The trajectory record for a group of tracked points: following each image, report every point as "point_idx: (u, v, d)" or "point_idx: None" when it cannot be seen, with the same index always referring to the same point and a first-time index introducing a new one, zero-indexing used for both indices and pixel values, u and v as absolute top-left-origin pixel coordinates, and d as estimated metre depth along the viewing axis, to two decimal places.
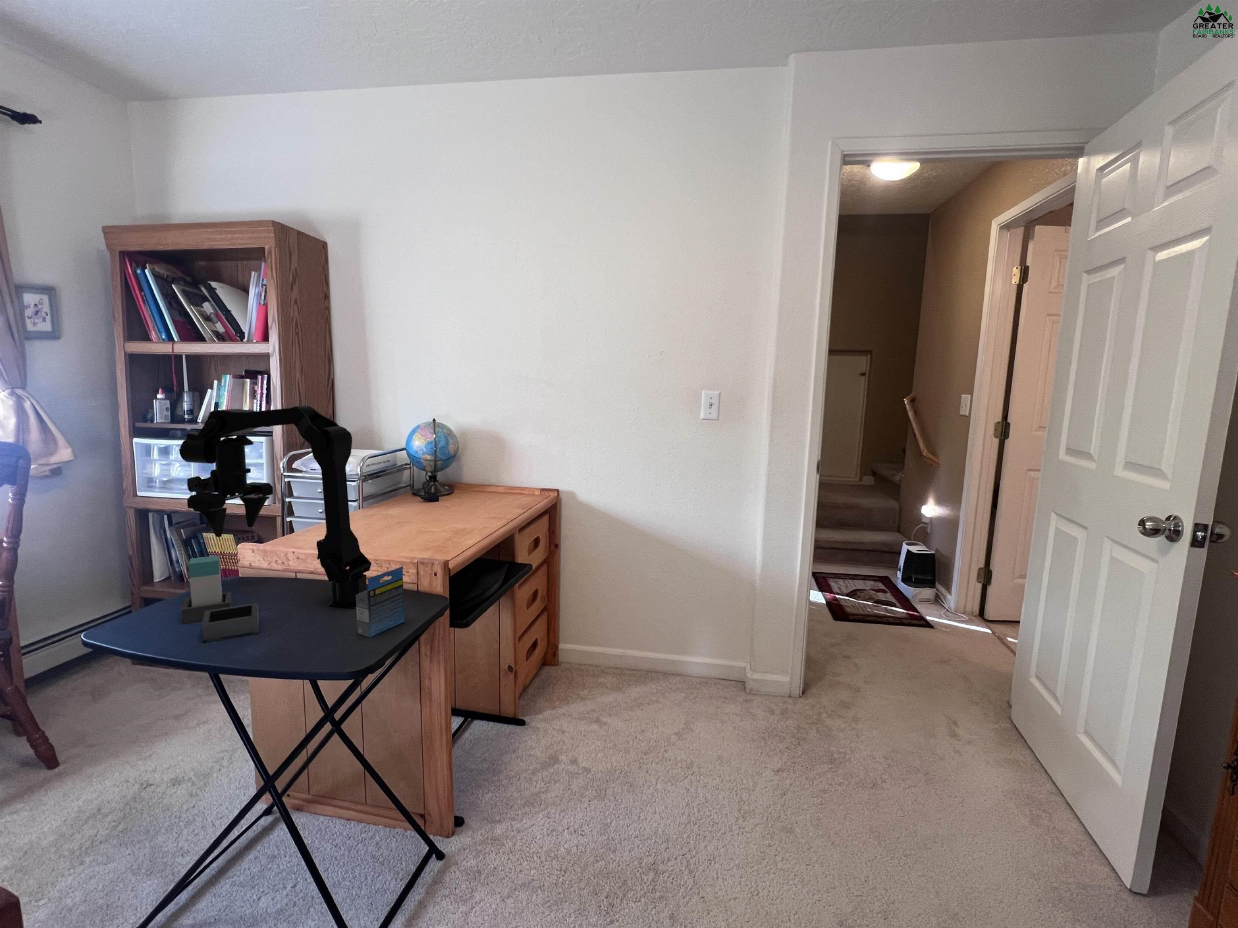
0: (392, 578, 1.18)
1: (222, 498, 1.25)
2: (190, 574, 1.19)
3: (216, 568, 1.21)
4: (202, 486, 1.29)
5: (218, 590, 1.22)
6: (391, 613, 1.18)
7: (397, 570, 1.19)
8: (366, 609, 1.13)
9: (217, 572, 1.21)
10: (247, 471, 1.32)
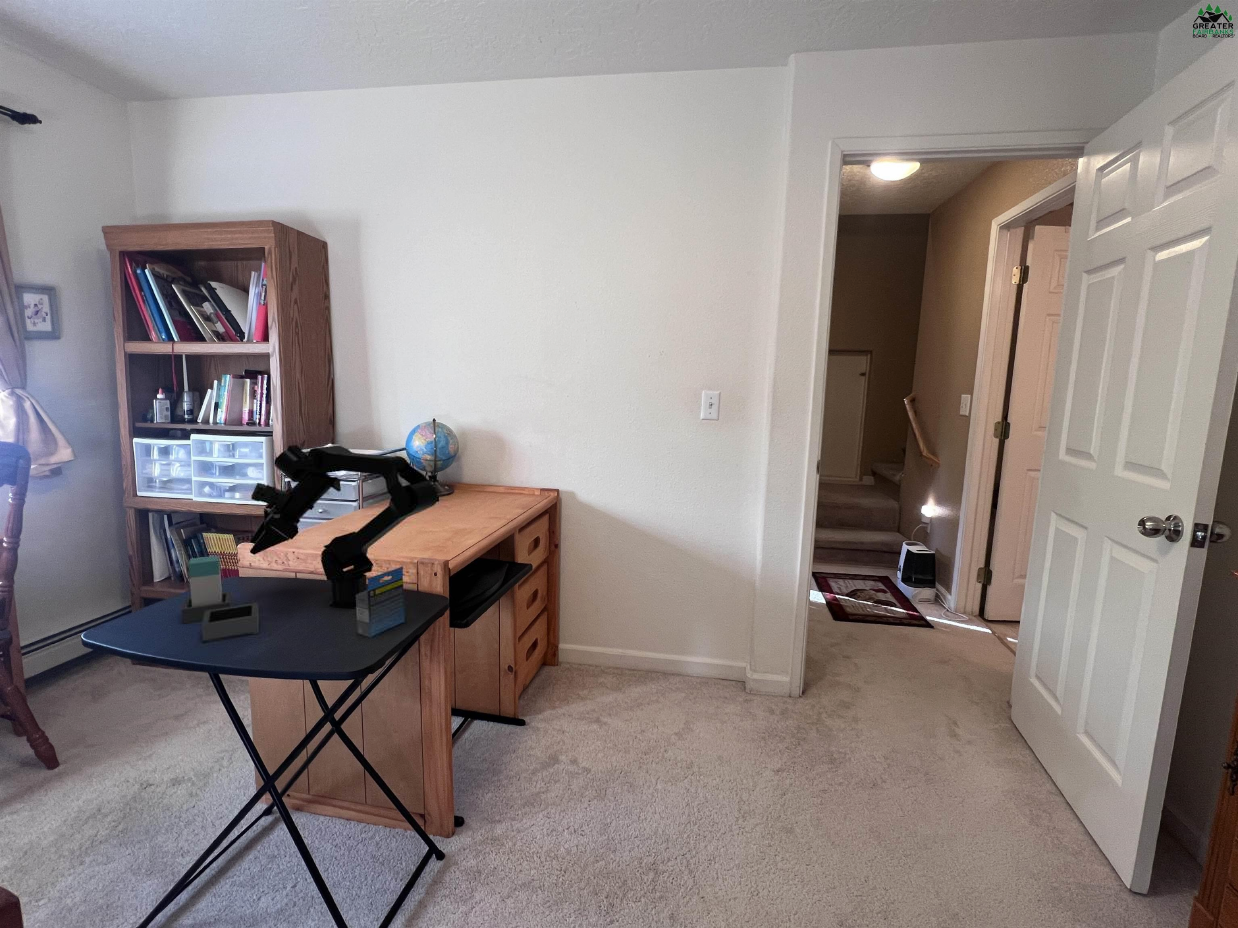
0: (392, 578, 1.18)
1: None
2: (190, 574, 1.19)
3: (216, 568, 1.21)
4: (273, 499, 1.23)
5: (218, 590, 1.22)
6: (391, 613, 1.18)
7: (397, 570, 1.19)
8: (366, 609, 1.13)
9: (217, 572, 1.21)
10: None
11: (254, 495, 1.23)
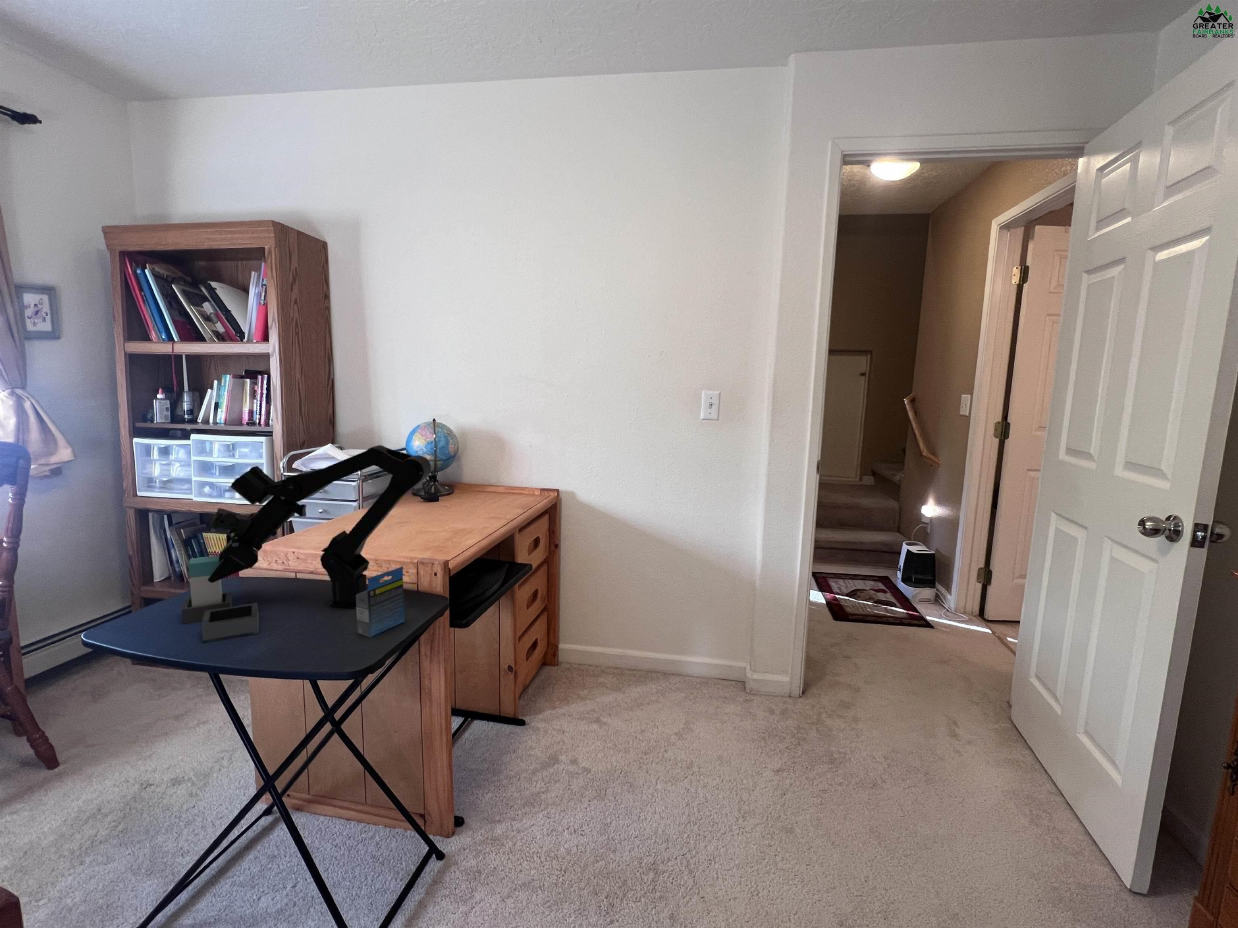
0: (392, 578, 1.18)
1: None
2: (190, 574, 1.19)
3: None
4: (234, 526, 1.20)
5: (218, 590, 1.22)
6: (391, 613, 1.18)
7: (397, 570, 1.19)
8: (366, 609, 1.13)
9: None
10: None
11: (214, 521, 1.20)
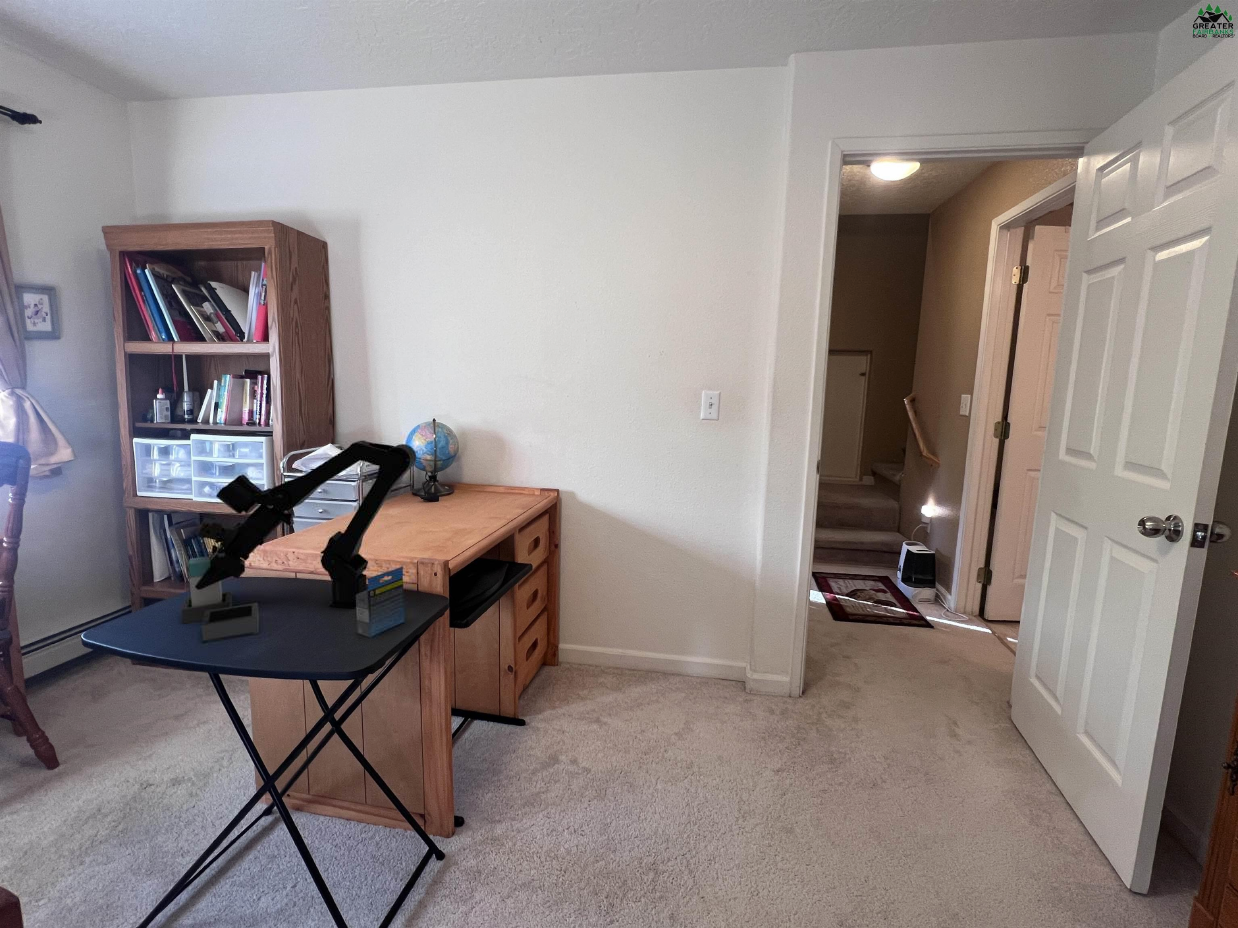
0: (392, 578, 1.18)
1: None
2: (190, 574, 1.19)
3: None
4: (220, 536, 1.19)
5: (218, 590, 1.22)
6: (391, 613, 1.18)
7: (397, 570, 1.19)
8: (366, 609, 1.13)
9: None
10: None
11: (199, 532, 1.18)
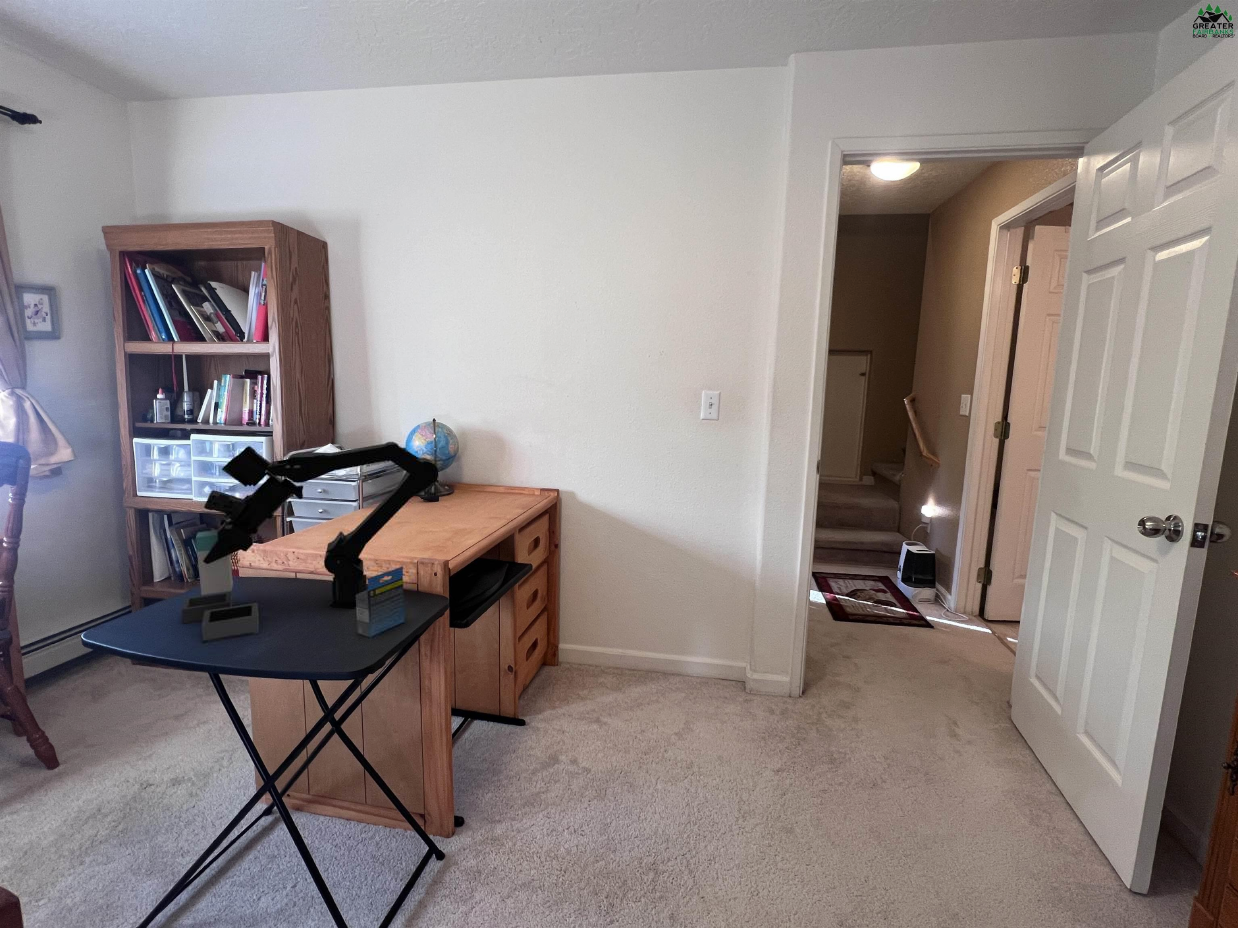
0: (392, 578, 1.18)
1: (253, 540, 1.16)
2: (197, 548, 1.15)
3: None
4: (228, 508, 1.15)
5: (227, 565, 1.18)
6: (391, 613, 1.18)
7: (397, 570, 1.19)
8: (366, 609, 1.13)
9: None
10: None
11: (207, 504, 1.15)
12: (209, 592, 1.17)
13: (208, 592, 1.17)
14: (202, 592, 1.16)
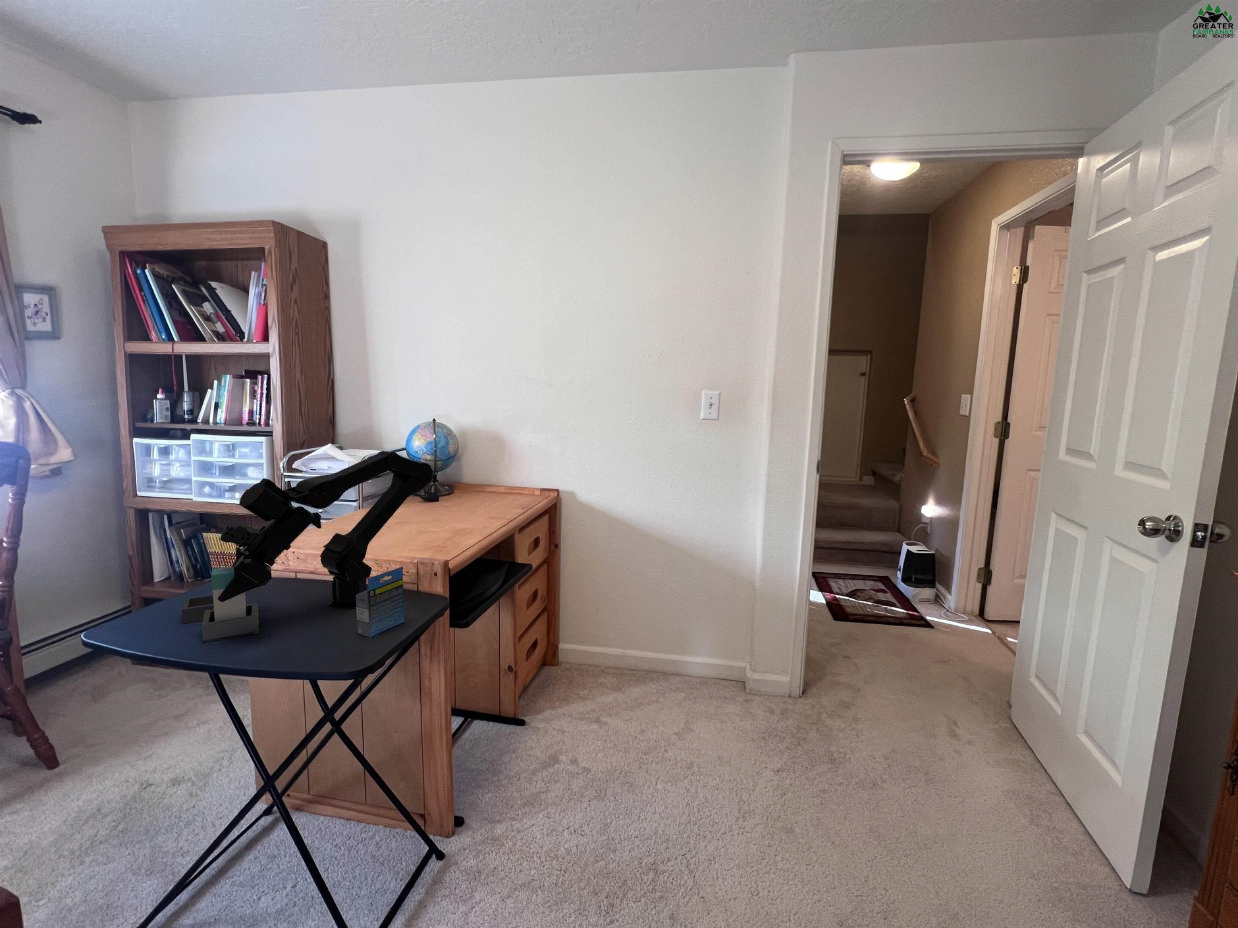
0: (392, 578, 1.18)
1: None
2: (213, 586, 1.11)
3: None
4: (245, 541, 1.12)
5: (242, 603, 1.14)
6: (391, 613, 1.18)
7: (397, 570, 1.19)
8: (366, 609, 1.13)
9: None
10: None
11: (223, 536, 1.11)
12: None
13: None
14: None
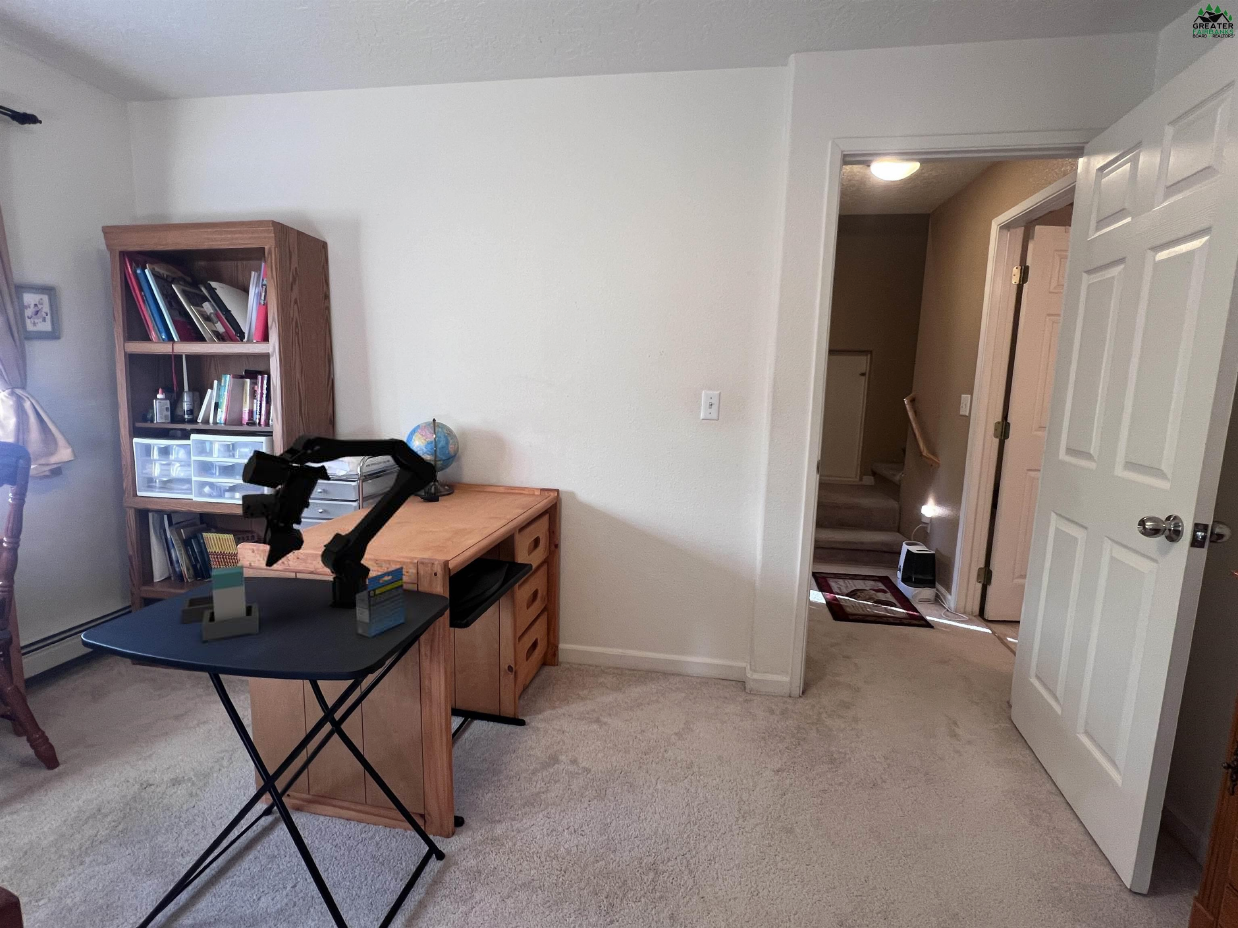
0: (392, 578, 1.18)
1: (302, 535, 1.19)
2: (213, 586, 1.11)
3: (240, 579, 1.13)
4: (265, 513, 1.16)
5: (242, 603, 1.14)
6: (391, 613, 1.18)
7: (397, 570, 1.19)
8: (366, 609, 1.13)
9: (241, 583, 1.14)
10: None
11: (244, 514, 1.15)
12: None
13: None
14: None
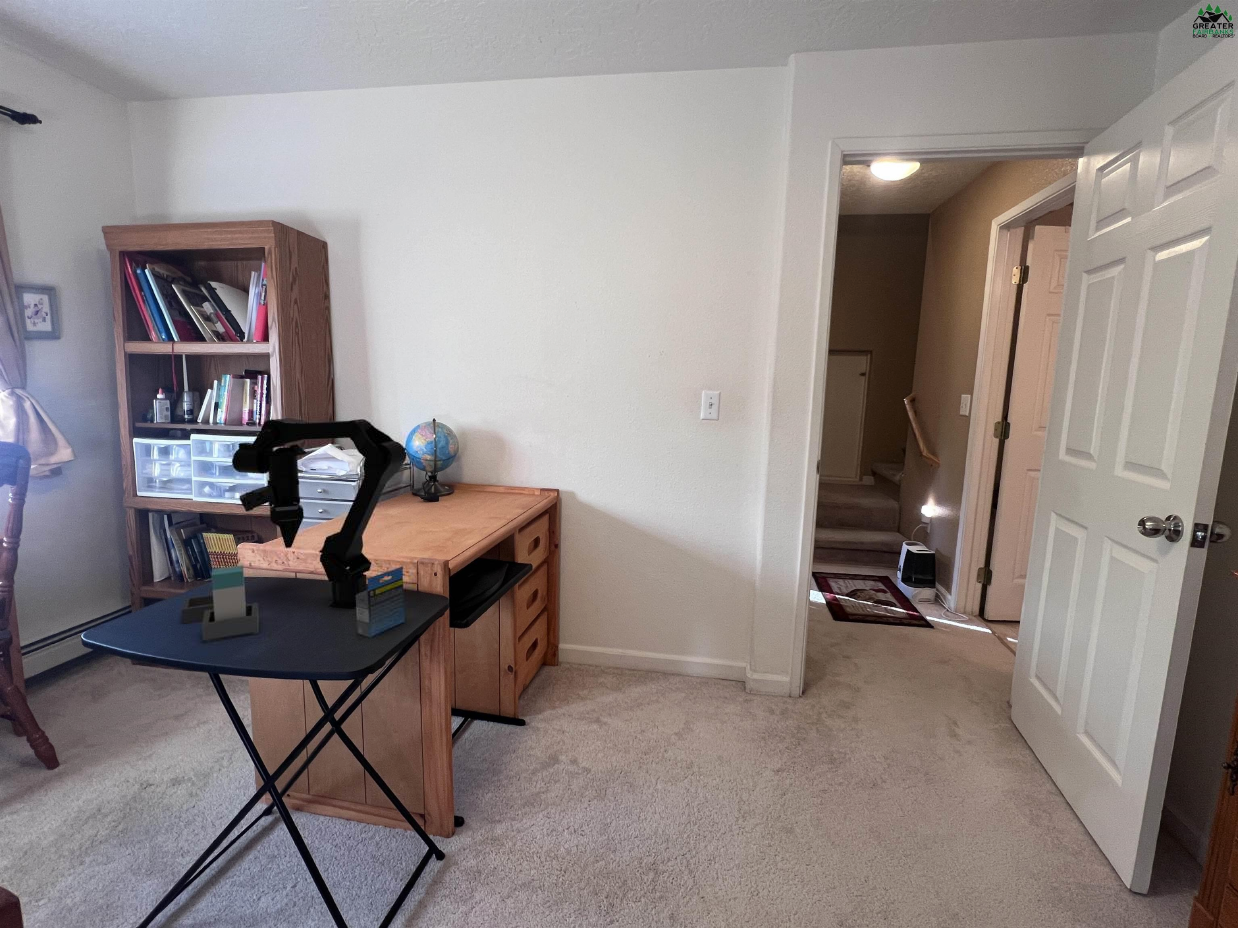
0: (392, 578, 1.18)
1: (302, 507, 1.26)
2: (213, 586, 1.11)
3: (240, 579, 1.13)
4: (262, 499, 1.25)
5: (242, 603, 1.14)
6: (391, 613, 1.18)
7: (397, 570, 1.19)
8: (366, 609, 1.13)
9: (241, 583, 1.14)
10: None
11: (245, 507, 1.24)
12: None
13: None
14: None
